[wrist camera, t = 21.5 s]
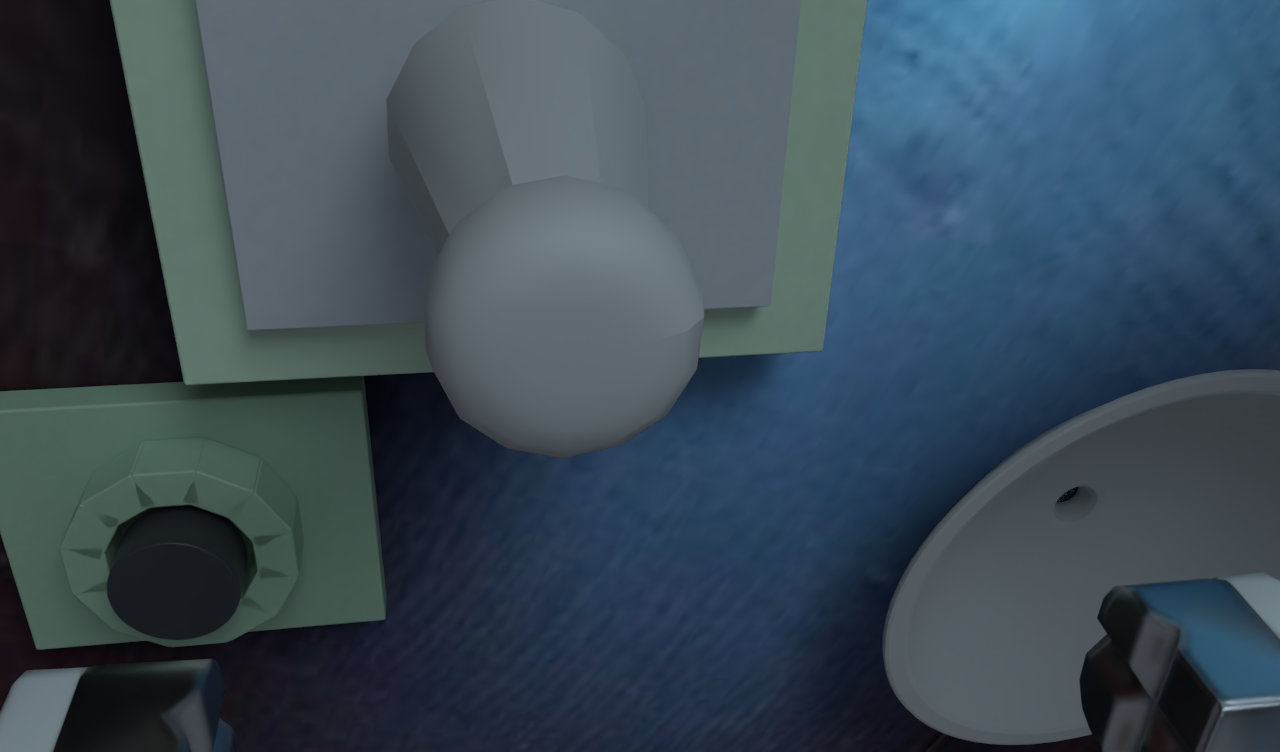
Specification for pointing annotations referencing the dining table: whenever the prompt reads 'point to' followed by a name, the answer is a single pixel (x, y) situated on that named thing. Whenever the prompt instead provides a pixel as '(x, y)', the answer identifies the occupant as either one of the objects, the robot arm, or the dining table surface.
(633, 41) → the scale
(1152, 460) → the dish
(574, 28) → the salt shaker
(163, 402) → the green dial panel
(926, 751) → the dining table surface
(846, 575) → the dining table surface
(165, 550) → the tare button
